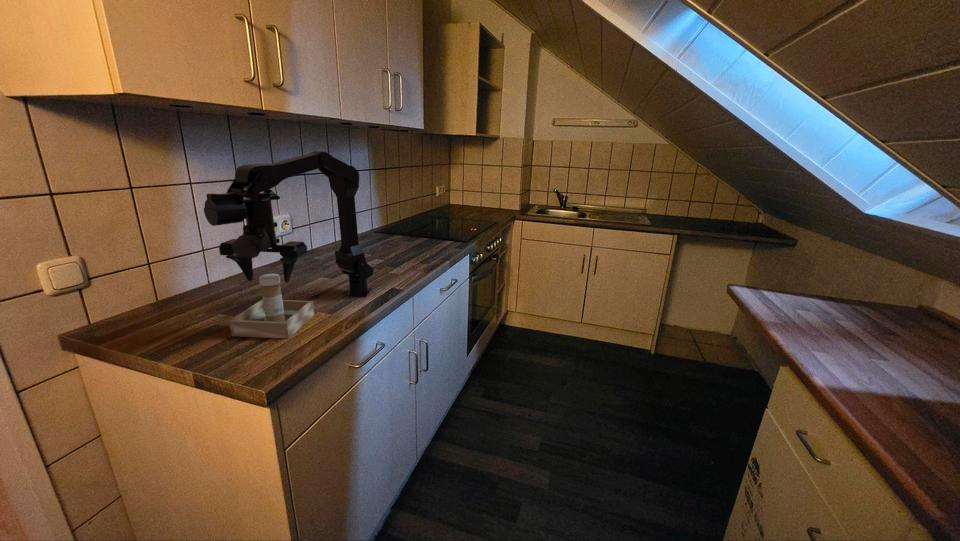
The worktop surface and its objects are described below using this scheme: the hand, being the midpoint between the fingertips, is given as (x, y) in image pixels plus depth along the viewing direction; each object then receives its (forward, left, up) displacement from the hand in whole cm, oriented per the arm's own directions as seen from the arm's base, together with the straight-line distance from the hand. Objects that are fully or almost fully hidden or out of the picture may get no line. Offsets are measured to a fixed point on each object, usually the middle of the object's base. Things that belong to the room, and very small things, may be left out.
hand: (268, 281), depth 94 cm
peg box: (0, 0, -12) cm, 12 cm away
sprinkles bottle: (0, 0, -12) cm, 12 cm away
